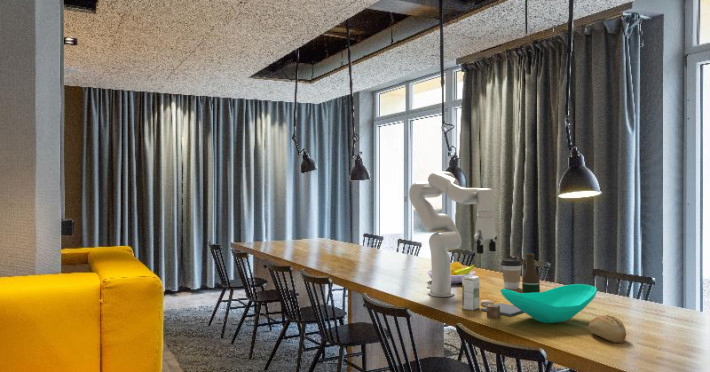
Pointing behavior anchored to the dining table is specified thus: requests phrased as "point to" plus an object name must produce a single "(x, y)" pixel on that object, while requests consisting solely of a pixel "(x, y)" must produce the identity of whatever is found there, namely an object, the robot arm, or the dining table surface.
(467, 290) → the syrup box
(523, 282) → the beer bottle
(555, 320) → the table top decor
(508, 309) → the felt pad
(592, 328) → the bread roll
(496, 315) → the walnut cube
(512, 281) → the coffee cup
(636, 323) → the dining table surface
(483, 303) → the cork disc
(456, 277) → the fruit bowl
